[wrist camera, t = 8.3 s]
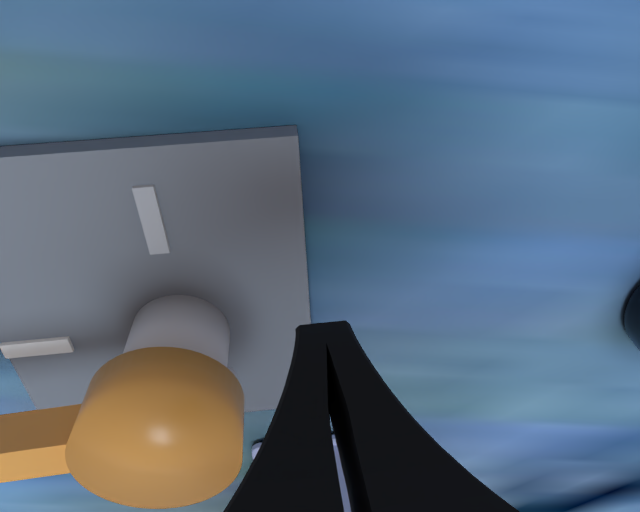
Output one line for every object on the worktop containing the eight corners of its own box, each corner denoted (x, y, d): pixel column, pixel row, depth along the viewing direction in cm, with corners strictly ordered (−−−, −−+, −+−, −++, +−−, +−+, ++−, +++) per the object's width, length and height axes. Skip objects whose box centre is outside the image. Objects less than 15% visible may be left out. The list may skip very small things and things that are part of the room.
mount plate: (314, 387, 28) (323, 468, 24) (57, 414, 27) (19, 502, 23) (296, 125, 19) (305, 178, 15) (-77, 151, 19) (-174, 216, 14)
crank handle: (228, 336, 18) (224, 391, 16) (255, 438, 21) (255, 496, 19) (-164, 389, 18) (-223, 453, 15) (-74, 485, 21) (-113, 549, 19)
